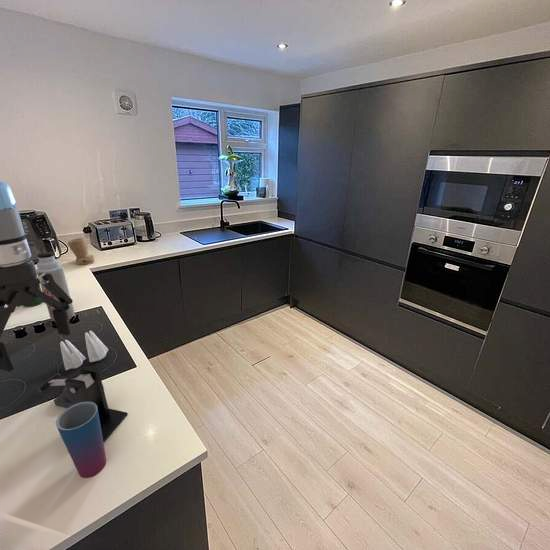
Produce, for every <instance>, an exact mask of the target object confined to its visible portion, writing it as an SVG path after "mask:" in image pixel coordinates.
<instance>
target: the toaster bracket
mask: <svg viewBox="0 0 550 550" xmlns="http://www.w3.org/2000/svg"><path fill="white" fill-rule="evenodd" d="M79 372H80V375H81V374H90V375H91V377H92V379H93V381H94V383H92V384H91V385H90V386H89V387H88V388H86V385H85V381H80V380H76V379H75V378H71V377H67V378H65V379H66V380H65V384H66V385H65V386H66V388H67V391H68V394H69V397H70V400H71V404H72V405H75V404H77V403H81V402H93V403H95V404H96V405H97V408H98V414H99V420H100V426H101V432H102V438H103V444H105V442H106V441H107V440H108V439H109V438H110V436H111V435H112V434H113V433H114V431H116V430H117V428H118V427H119V426H120V424H121V423H122V422H123V421H124V420H125V419H126V418H127V416H128V415H129V414H128V412H126V411H122V410H119V409H114V408H109V405H108V401H107V397H106V393H105V388H104V385H102V384H103V381H102V376H101V373H100V369H99V368H98V369H97V368H93V367H87V366H81V367H80V368H79ZM103 388H104V389H103Z"/></svg>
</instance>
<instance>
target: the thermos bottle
mask: <svg viewBox="0 0 550 550" xmlns="http://www.w3.org/2000/svg"><path fill="white" fill-rule="evenodd" d="M37 258H38V262H37V263H36V267H37V268H36V272H37V276H38V274H39V273H48V274H51V275H52V277H53V279H54V282H55V283H56V284H57V285H58V286H59V287H60V288H61V289H62V290H63V291H64V292H65V293H66V294H67V295H68V296H69V297H70V298H71V294H70V290H69V286H68V283H67V279H66V275H65V272H64V268H63V267H64V266H63V265H62V264H61V263H60V261H59V260H58V259H56V257H55V253H54V252H52V251H48V252H46V251H45V252H41V253H38V254H37ZM40 288H41V291H42V292H43V293H45V294H46V295H48V296H50V297H52V298H54V299H56V300H58V299H57V298H56V297H55V296H54V295H53V294H52V293H51V292H50V291H49V290H48V289H47V288H46V287H45V286H43V284H41V283H40ZM58 301H59V300H58ZM59 302H60V301H59ZM45 305H46V308H47V311H48V314H49V318H50V321H51V322H52V321H55V320H54V316H53V313H52V311H53V310H57V309H56V308H54V307H52V306H50V305H48V304H46V303H45ZM69 306H70V308H69V309H68V310H67V314H68V320H69V319H71V318H72V317H73V316H74V315H75V316H76V313H75V309H74V305H73V302H72V303H71V304H69ZM68 320H67V321H68Z"/></svg>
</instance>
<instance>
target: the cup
mask: <svg viewBox="0 0 550 550" xmlns="http://www.w3.org/2000/svg"><path fill="white" fill-rule="evenodd" d="M55 426H56V428H57V430H58V432H59V434H60V436H61V439H62V441H63V444H64V446H65V447H66V449H67V453H68V455H69V456H70V458H71V460H72V462H73V464H74V467H75V469H76V471H77V473H78V475H79V477H81V478H82V479H90V478H93V477H95V476H96V475H98V474H100V473H101V472H102V471H103V469H104V468H105V466H106V464H107V456H106V449H105V443H103V438H102V432H101V426H100V420H99V414H98V408H97V405H96V404H95V403H93V402H81V403H77V404H75V405H72V406H70V407H69V408H65V409H64V410H63V411H62V412H61V413H60V414H59V415H58V417H57V418H56V421H55Z"/></svg>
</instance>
